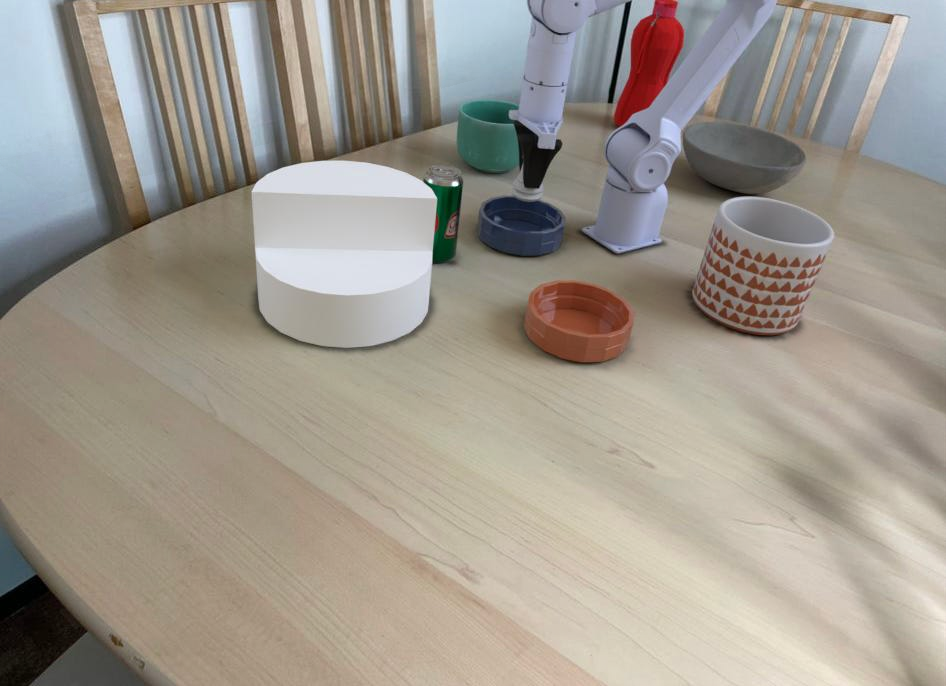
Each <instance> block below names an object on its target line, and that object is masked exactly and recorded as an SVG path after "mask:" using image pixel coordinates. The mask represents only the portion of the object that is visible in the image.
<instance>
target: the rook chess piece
mask: <svg viewBox="0 0 946 686" xmlns="http://www.w3.org/2000/svg"><path fill="white" fill-rule="evenodd" d="M522 157H523V156H522ZM512 187H513V188H511V190H510V193H511V195H512V196H514V197H515V198H517V199H518V200H521V201H526V202H535V201H538V200H541V199H542V198H543V196H544V193H543V191H544V184H543V183H542V184H541V186H540V188H539V189H536V188H525V187H524V183H523V165H522V168H521V171H520V170H519V174H518V175H517V176H516V178H515V179H514V181H513V183H512Z"/></svg>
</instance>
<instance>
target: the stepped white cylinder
mask: <svg viewBox="0 0 946 686" xmlns="http://www.w3.org/2000/svg"><path fill="white" fill-rule="evenodd" d="M251 205H252V208H251V209H252V221H253V222H252V223H253V237H254V239H253V240H254V253H255V267H256V284H257V298H258V299H257V300H258V309H259V312H260V313H261V314H262V317H263V318H264V319H265V321H266V322H267V323H268V325H270V326H272V327H273V328H275V329H276V330H277V331H278V332H280V333H281V334H283V335H286V336H288V337H290V338H292V339H295V340H297V341H299V342H304V343H307V344H312V345H316V346H319V347H320V346H321V347H328V348H329V347H331V348H343V349H349V348H350V349H351V348H362V347H364V348H365V347H373V346H376V345H382V344H386V343H388V342H393V341H395V340H397V339H399V338H402V337H403V336H406V335H409V334H410V333H411V332H412V331H414V330H415V329H416V328H417V327H418V326H420V325H421V324H422V323H423V321H424V320H425V317H426V316H427V314H428V312H429V303H430V292H431V281H432V272H433V271H432V270H433V269H432V268H433V262H432V256H433V242H434V231H435V219H436V208H437V197H436V196H435V194H434V192H433V190H432V189H431V188H430V187H429V186H427V185H426V184H425V183H424V182H423V180H422V179H419V178H417V177H415V176H413V175H411V174H409V173H408V172H406V171H402V170H399V169H396V168H392V167H389V166H386V165H381V164H375V163H371V162H365V161H364V162H363V161H353V160H315V161H308V162H300V163H296V164H292V165H288V166H284V167H281V168H278V169H276V170H273V171H271V172H269V173H267V174H265V175H264V176H263V177H262V178H260V179H259V180H258V181H256V182H255V184H254V186H253V188H252V190H251Z"/></svg>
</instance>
